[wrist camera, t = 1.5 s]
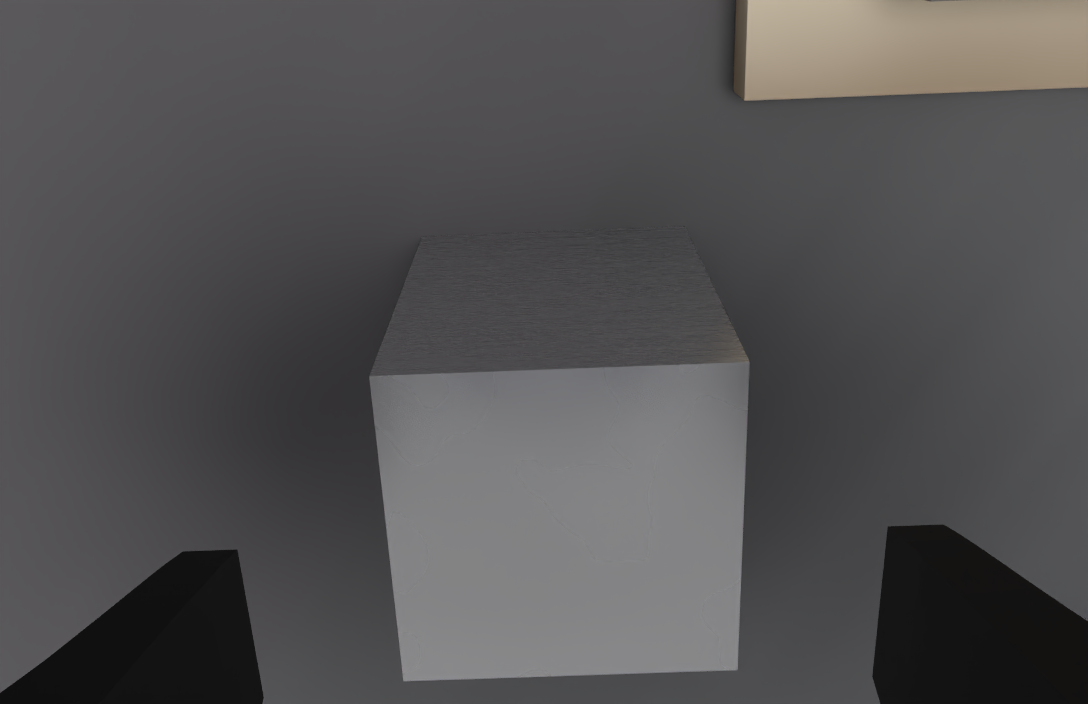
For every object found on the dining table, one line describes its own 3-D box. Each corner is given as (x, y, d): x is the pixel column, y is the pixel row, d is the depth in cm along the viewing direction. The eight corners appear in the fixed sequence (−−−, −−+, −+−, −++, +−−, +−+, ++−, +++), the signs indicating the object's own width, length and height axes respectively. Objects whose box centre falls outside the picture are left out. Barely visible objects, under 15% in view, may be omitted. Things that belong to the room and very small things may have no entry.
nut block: (681, 458, 20) (737, 669, 14) (442, 466, 20) (403, 680, 14) (684, 225, 18) (749, 362, 12) (422, 235, 18) (369, 376, 12)
